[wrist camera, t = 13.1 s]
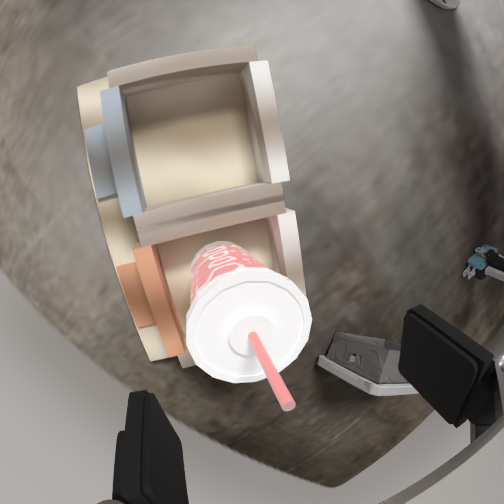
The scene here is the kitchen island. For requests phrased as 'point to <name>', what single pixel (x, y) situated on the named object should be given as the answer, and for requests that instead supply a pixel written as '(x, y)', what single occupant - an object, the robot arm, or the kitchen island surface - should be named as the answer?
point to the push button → (485, 263)
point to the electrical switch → (367, 364)
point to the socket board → (186, 178)
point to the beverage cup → (244, 318)
